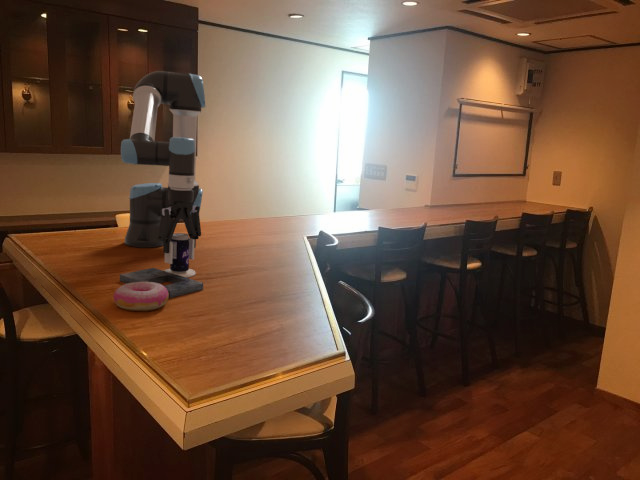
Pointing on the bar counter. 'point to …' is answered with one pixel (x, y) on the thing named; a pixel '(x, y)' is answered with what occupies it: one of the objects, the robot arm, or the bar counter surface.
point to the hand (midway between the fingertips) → (179, 260)
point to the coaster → (187, 274)
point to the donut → (141, 296)
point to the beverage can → (180, 253)
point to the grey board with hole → (158, 276)
